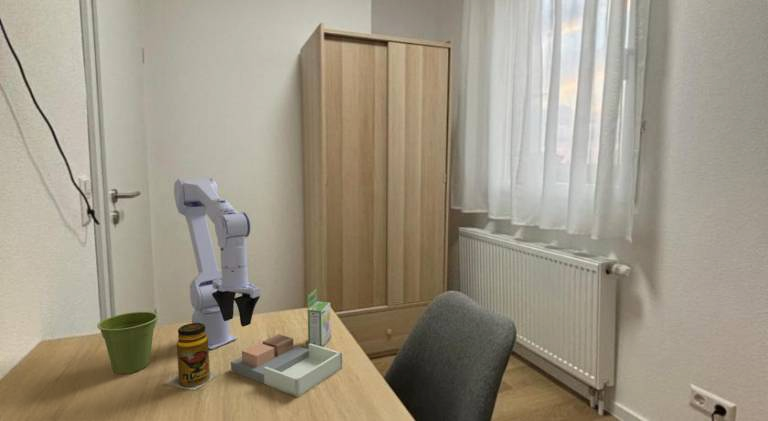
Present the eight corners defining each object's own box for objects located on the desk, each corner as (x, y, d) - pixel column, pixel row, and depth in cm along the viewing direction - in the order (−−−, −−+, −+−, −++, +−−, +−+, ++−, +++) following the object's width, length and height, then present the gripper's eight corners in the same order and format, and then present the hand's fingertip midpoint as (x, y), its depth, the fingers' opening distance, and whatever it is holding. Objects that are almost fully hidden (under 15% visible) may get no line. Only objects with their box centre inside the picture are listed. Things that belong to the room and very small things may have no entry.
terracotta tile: (242, 361, 93) (241, 350, 93) (259, 353, 97) (259, 342, 97) (257, 367, 90) (256, 356, 90) (274, 358, 95) (274, 347, 94)
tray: (264, 383, 87) (263, 367, 87) (310, 357, 99) (310, 343, 99) (297, 397, 82) (297, 379, 82) (342, 367, 94) (341, 352, 94)
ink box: (322, 348, 104) (321, 297, 103) (307, 347, 105) (306, 296, 104) (331, 337, 111) (330, 289, 110) (317, 336, 112) (316, 288, 110)
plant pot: (169, 366, 96) (166, 318, 94) (109, 386, 87) (105, 334, 86) (151, 351, 104) (148, 307, 102) (94, 367, 95) (91, 320, 94)
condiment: (195, 391, 85) (192, 334, 84) (162, 384, 87) (159, 330, 86) (219, 374, 92) (217, 321, 90) (188, 368, 94) (185, 318, 93)
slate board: (231, 370, 93) (230, 361, 93) (278, 347, 105) (277, 340, 105) (264, 383, 87) (264, 374, 87) (310, 357, 99) (310, 349, 99)
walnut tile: (263, 351, 98) (262, 341, 98) (278, 343, 102) (278, 334, 102) (277, 356, 96) (277, 346, 95) (293, 348, 100) (293, 338, 99)
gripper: (199, 265, 96) (202, 321, 97) (240, 273, 88) (243, 334, 90) (225, 259, 102) (228, 312, 103) (266, 266, 94) (268, 324, 96)
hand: (237, 322), depth 97 cm, fingers open, 6 cm apart
